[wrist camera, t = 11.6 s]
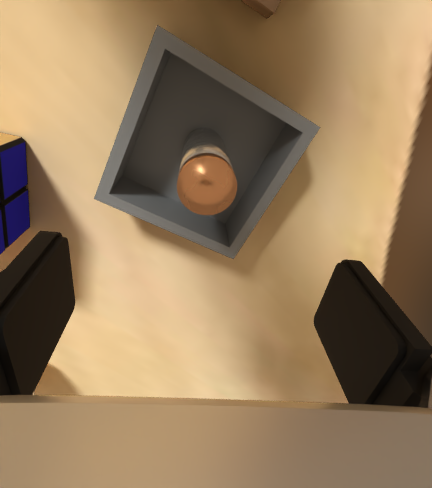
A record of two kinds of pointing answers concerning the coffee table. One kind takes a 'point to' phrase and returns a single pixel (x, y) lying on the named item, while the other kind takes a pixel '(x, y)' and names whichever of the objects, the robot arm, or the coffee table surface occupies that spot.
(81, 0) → the coffee table surface
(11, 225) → the puzzle cube
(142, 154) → the bin
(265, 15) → the stud mount
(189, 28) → the coffee table surface
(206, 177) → the copper topped cylinder
